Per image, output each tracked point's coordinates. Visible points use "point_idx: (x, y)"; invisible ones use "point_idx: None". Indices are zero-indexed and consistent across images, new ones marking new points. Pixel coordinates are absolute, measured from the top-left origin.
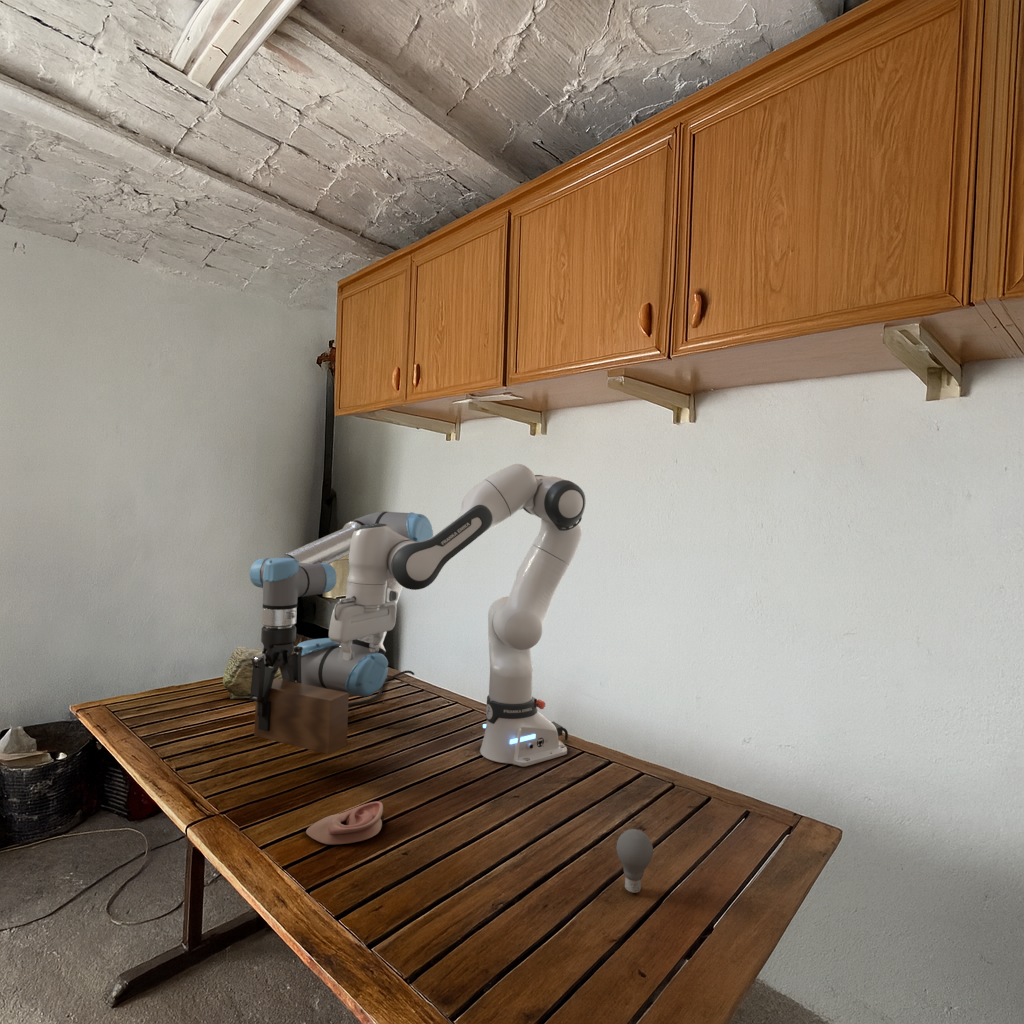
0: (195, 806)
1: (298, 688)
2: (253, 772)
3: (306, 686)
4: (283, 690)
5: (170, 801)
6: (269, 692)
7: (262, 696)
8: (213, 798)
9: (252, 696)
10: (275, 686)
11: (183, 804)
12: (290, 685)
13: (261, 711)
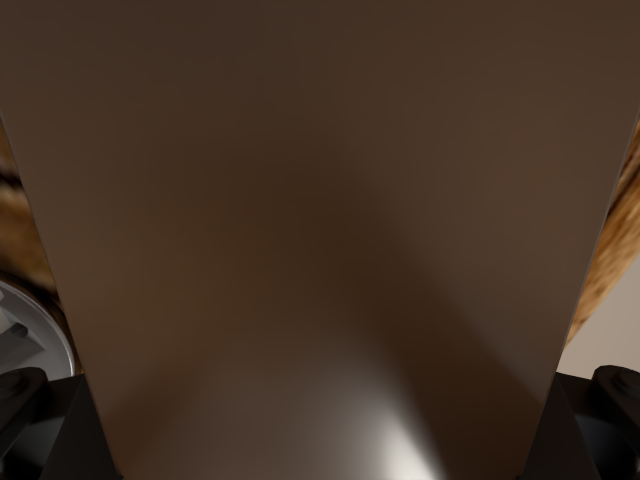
0: (616, 206)
1: (340, 94)
2: None
3: (108, 36)
4: (588, 260)
5: (603, 282)
6: None
7: (622, 406)
8: None
9: (635, 474)
10: (435, 475)
11: (612, 242)
12: (276, 355)
13: None
